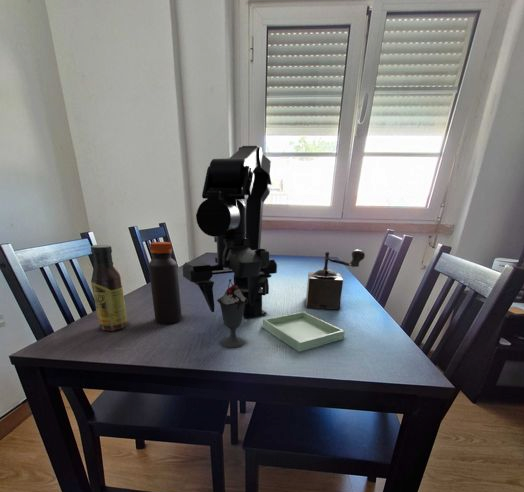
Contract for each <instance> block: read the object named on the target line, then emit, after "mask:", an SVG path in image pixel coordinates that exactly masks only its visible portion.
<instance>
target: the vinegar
mask: <svg viewBox="0 0 524 492" xmlns="http://www.w3.org/2000/svg"><path fill="white" fill-rule="evenodd" d="M149 247H150V254H151V255H152V259H151V260H150V261H149V262H148V272H149V280H150V290H151V296H152V297H151V298H152V306H153V312H154V321H155V322H156V323H158V324H162V325H169V324H175V323H178V322H180V321H182V318H183V316H182V304H181V293H180V283H179V282H180V281H179V271H178V270H179V269H178V263H177V261H176V260H175V259H173V258H172V254H173V245H172V243H171V242H169V241H153V242H150V243H149Z"/></svg>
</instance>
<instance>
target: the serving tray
mask: <svg viewBox="0 0 524 492" xmlns="http://www.w3.org/2000/svg"><path fill="white" fill-rule="evenodd" d="M262 328H263V329H264V330H266V331H268V332H269V333H271V334H272V335H273V336H275V337H276V338H278V339H279V340H281V341H282V342H284V343H285V344H287V345H289V346H290V347H292V348H293V349H295V350H296V351H298V352H299V353H300V352H304V351H307V350H311V349H314V348H316V347H321V346H323V345H328V344H330V343H334V342H338V341H341V340H344V339H345V338H344V337H345V332H346V331H345V330H344V329H343V328H339V327H338V326H335V325H334V324H332V323H329V322H327V321H325V320H322V319H321V318H318V317H316V316H314V315H312V314H310V313H308V312H306V311H297V312H294V313H289V314H284V315H279V316H274V317H268V318H265V319H262Z"/></svg>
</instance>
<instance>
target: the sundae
mask: <svg viewBox="0 0 524 492" xmlns="http://www.w3.org/2000/svg"><path fill="white" fill-rule="evenodd" d="M230 284H231V285H230ZM243 295H244V291H242V290H241V289H240V288H238V287H237V286H236V285H234V283H232V278H230V279H228V286H227V289H226V291H225V292H224V294H223V295H222V296H220V297H219V298H217V299H216V302H217V303H219V306H220V310H221V311H220V312H221V317H222V321H223V325H225V327H226V328H228V329H229V330H230V331H229V332H230V333H229V337H226V338H224V339H223V340H222V342H221V345H222V346H224V347H226V348H230V349H233V348H240V347H243V345H244V344H245V340H243V339H242V338H240V337H237V334H236V330H237V329H239V327H241V325H242V324H243V319H244V316H243V313H244V307H245V304H247V303H248V298H246V297H245V296H243Z"/></svg>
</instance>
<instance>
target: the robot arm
mask: <svg viewBox="0 0 524 492" xmlns="http://www.w3.org/2000/svg"><path fill="white" fill-rule="evenodd" d="M204 179H205V180H204V184H203V187H202V194H201V197H202V199H204V200H203V201H202V202H201V203H200V204H199V206H198V208H197V210H196V213H195V220H196V224H197V226H198V228H199V229H200V230H201V232H202V233H204V234H205V235H207V236H209V237H214V238H213V241H214V243H216V257H214V262H215V263H216V264H209V263H207V262H205V261H203V260H200V261H187V262H184V264H183V265H182V277H183V278H185V279H186V280H187V281H189V282H191V283H194V284H195V285H197V286H198V288H199V289H200V291H201V293H202V295H203V297H204V300H205V302H206V304H207V306H208V308H209V310H210V312H211V313H215V299H214V298H215V297H214V291H213V290H214V289H213V288H214V284H215V281H213V280H212V278H213V275H223V274H233V285H236V286H237V287H238V288H240V289H241V290H242V291H244V295H243V296H245V297H246V298H248V303H247V304H245V307H244V313H243V317H244V318H247V319H248V318H249V319H250V318H254V317H255V318H256V317H259V316H264V315H267V311H264V310H263V296H264V297H265V296H266V295H269V294H270V285H269V278H272V274H277V273H278V264H277V262H276V260H275V259H274V258H270V251H269V249H267V247H263V248H261V244H262V230H263V229H262V228H263V214H264V213H263V212H264V203H265V202H266V199H267V198H268V196H269V195H270V193H271V185H273V182H274V170H273V164H272V160H270V159H269V158H268V157H267V156H266V155H265V154H264V153H263V150H262V147H261V146H259V145H242V146H239V147H238V150H237V151H236V152H235V153H234V154H232V155H231V156H230V157H229V158H212V159H211V160H210V163H209V165H208V166H207V169H206V174H205V178H204ZM245 201H246V202H245Z"/></svg>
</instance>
